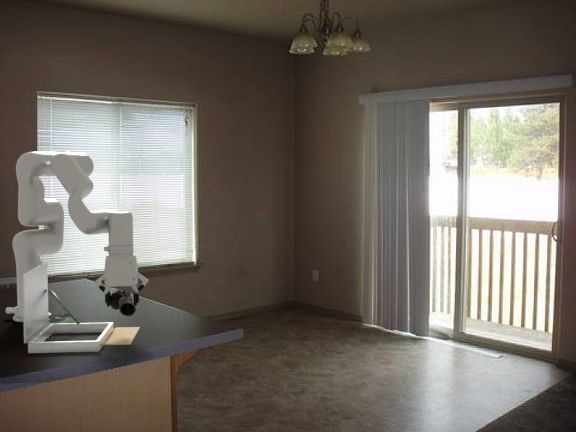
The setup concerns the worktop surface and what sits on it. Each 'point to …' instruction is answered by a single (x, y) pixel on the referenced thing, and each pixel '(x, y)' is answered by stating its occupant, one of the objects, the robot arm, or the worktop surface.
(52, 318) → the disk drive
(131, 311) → the dark piece
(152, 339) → the worktop surface
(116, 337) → the pad
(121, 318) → the worktop surface
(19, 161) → the robot arm
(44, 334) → the case
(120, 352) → the worktop surface
